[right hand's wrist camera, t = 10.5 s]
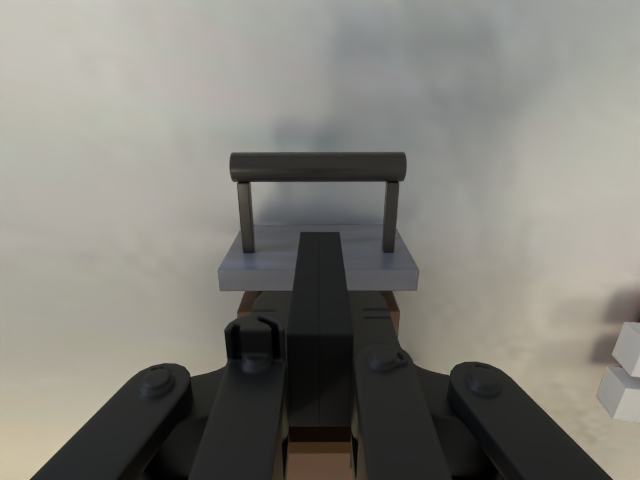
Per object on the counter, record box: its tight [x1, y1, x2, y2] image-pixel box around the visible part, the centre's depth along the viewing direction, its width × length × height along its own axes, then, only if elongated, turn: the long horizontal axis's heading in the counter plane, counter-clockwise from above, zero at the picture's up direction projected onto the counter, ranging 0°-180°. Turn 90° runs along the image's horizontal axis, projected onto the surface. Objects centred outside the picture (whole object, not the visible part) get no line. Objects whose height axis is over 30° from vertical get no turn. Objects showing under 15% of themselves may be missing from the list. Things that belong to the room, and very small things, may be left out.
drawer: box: [218, 152, 419, 442], centre depth 24 cm, size 22×10×7 cm, turn 0°
